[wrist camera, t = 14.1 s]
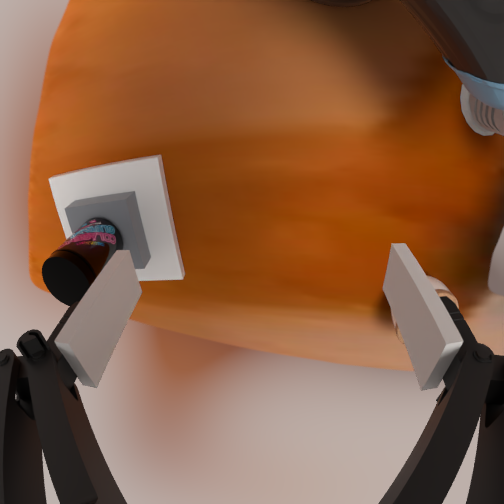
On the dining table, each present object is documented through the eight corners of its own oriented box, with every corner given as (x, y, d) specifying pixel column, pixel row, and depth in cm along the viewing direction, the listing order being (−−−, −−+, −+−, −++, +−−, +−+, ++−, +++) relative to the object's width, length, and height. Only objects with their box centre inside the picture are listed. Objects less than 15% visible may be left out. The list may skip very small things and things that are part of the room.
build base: (54, 175, 38) (36, 185, 34) (161, 154, 37) (149, 163, 33) (86, 276, 47) (75, 292, 43) (185, 273, 46) (178, 291, 42)
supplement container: (134, 237, 38) (100, 285, 29) (110, 268, 40) (78, 316, 31) (96, 204, 36) (52, 244, 27) (75, 238, 38) (35, 280, 29)
